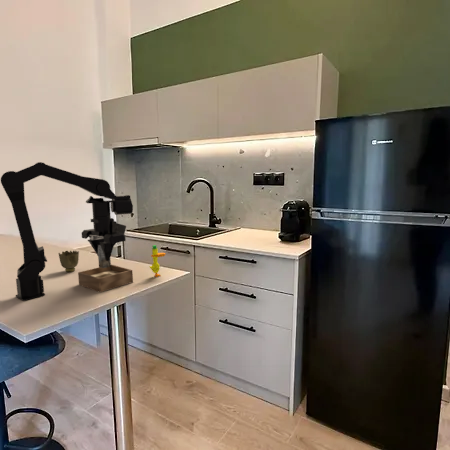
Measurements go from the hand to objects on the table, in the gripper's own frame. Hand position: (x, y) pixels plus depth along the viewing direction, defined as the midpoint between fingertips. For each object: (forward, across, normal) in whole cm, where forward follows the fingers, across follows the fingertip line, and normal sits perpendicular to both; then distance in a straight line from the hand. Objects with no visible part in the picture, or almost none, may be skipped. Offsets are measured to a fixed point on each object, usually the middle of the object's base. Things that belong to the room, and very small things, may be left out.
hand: (104, 259), depth 116 cm
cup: (+9, +26, 0) cm, 27 cm away
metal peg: (+2, 0, 0) cm, 2 cm away
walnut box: (+9, 0, 0) cm, 9 cm away
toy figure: (+9, -8, -17) cm, 21 cm away
